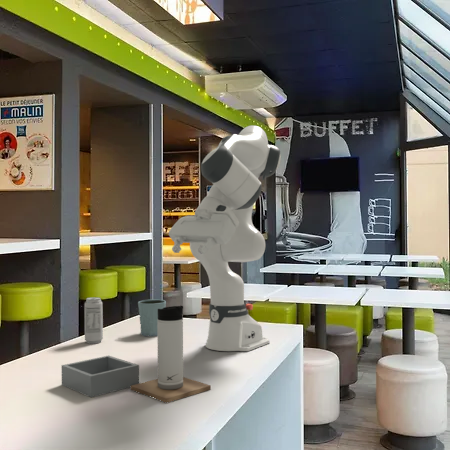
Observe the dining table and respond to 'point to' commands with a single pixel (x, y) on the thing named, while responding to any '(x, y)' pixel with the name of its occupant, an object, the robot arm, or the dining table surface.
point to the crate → (100, 375)
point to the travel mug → (170, 347)
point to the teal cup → (150, 316)
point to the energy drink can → (93, 320)
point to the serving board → (166, 396)
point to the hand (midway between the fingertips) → (187, 252)
